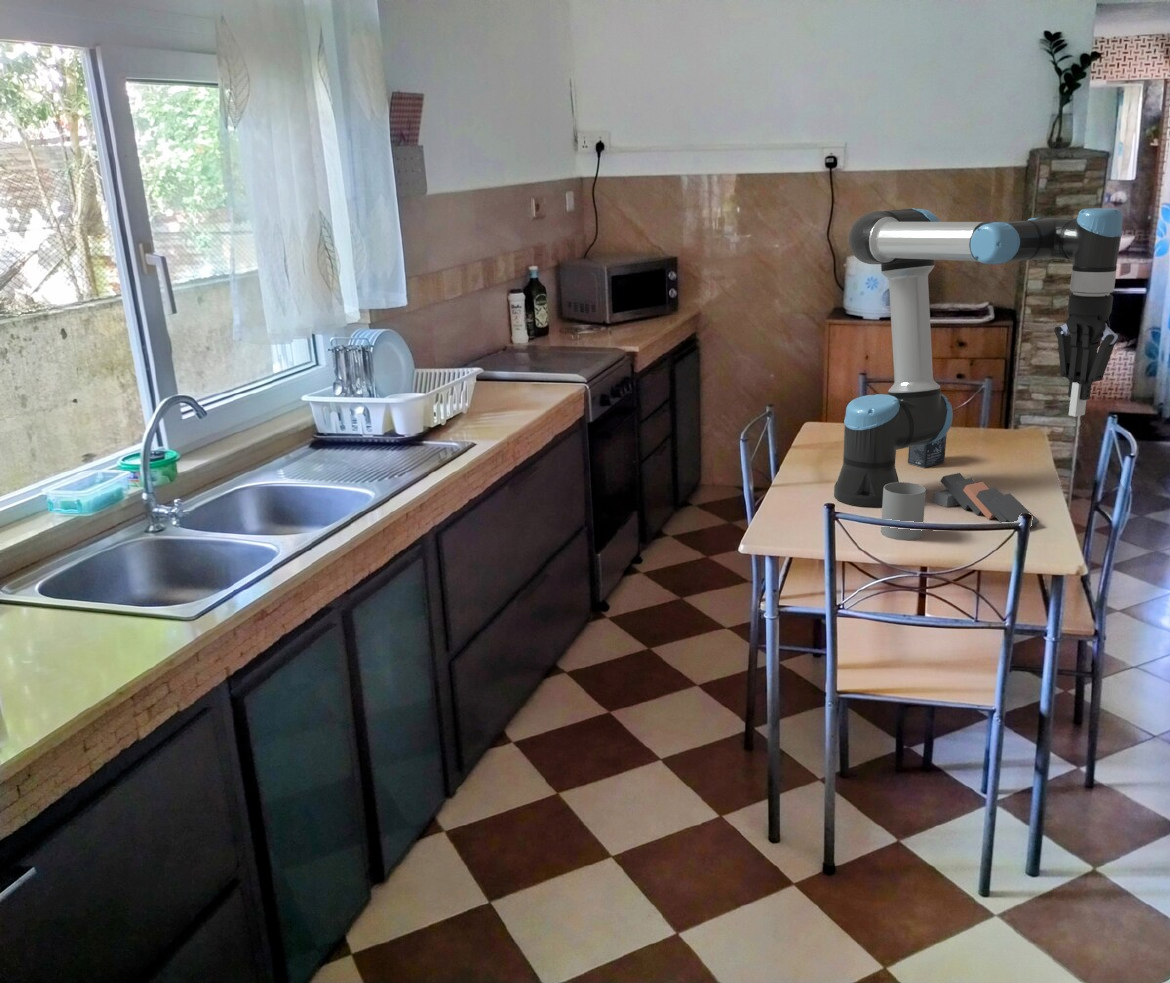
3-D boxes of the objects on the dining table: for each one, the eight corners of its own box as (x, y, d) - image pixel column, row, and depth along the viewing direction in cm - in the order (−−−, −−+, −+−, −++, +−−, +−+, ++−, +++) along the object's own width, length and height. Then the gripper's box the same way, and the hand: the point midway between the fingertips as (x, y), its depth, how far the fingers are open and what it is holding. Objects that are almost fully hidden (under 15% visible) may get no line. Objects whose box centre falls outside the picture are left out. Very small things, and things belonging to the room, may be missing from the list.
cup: (904, 543, 207) (908, 497, 204) (872, 532, 214) (875, 487, 210) (930, 533, 212) (934, 488, 209) (898, 523, 218) (901, 479, 215)
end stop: (946, 507, 227) (947, 496, 226) (933, 502, 230) (934, 492, 230) (972, 501, 230) (973, 490, 230) (959, 496, 234) (960, 486, 233)
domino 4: (1006, 519, 214) (979, 491, 220) (1003, 525, 215) (976, 496, 221) (1023, 515, 216) (995, 487, 222) (1020, 520, 217) (992, 492, 223)
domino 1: (967, 504, 223) (943, 476, 228) (964, 509, 224) (940, 481, 230) (984, 500, 225) (959, 472, 231) (980, 505, 226) (956, 477, 232)
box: (925, 468, 255) (928, 428, 252) (907, 463, 260) (909, 424, 257) (945, 463, 259) (948, 423, 256) (927, 458, 264) (930, 419, 261)
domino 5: (1022, 525, 211) (993, 497, 216) (1018, 530, 212) (990, 502, 217) (1039, 521, 213) (1010, 493, 218) (1035, 526, 214) (1006, 498, 219)
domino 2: (980, 510, 220) (955, 481, 225) (977, 515, 221) (951, 486, 226) (996, 506, 222) (971, 478, 227) (993, 511, 223) (968, 482, 229)
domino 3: (991, 514, 217) (966, 485, 223) (988, 519, 219) (962, 490, 224) (1008, 510, 220) (982, 481, 225) (1005, 515, 221) (979, 486, 226)
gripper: (1136, 294, 186) (1119, 419, 193) (1075, 288, 197) (1061, 406, 204) (1108, 298, 183) (1092, 424, 190) (1048, 291, 194) (1035, 411, 201)
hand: (1076, 414), depth 197 cm, fingers closed
